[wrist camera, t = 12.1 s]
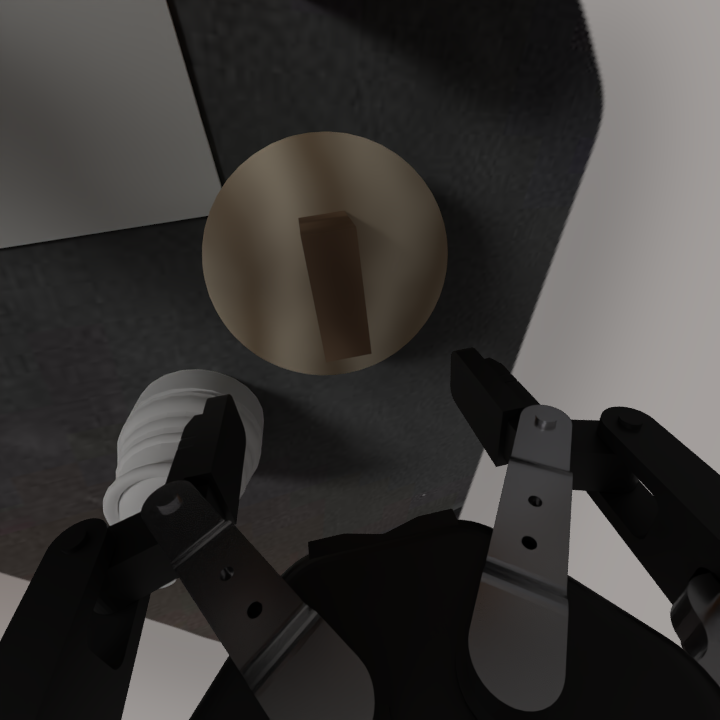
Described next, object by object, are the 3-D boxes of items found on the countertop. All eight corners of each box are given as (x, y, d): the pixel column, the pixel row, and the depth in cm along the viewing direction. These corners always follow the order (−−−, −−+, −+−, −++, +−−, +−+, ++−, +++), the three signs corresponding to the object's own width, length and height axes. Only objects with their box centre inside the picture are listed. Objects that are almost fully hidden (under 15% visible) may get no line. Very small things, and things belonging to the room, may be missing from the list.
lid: (246, 384, 31) (237, 435, 26) (164, 153, 22) (124, 159, 16) (442, 346, 32) (471, 387, 27) (441, 113, 23) (486, 107, 18)
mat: (-7, 248, 28) (-10, 249, 28) (-237, -105, 19) (-246, -109, 18) (229, 211, 30) (228, 212, 29) (126, -136, 20) (124, -140, 20)
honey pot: (147, 353, 35) (39, 521, 20) (279, 387, 39) (273, 546, 24) (127, 450, 40) (30, 640, 25) (245, 470, 45) (223, 642, 30)
